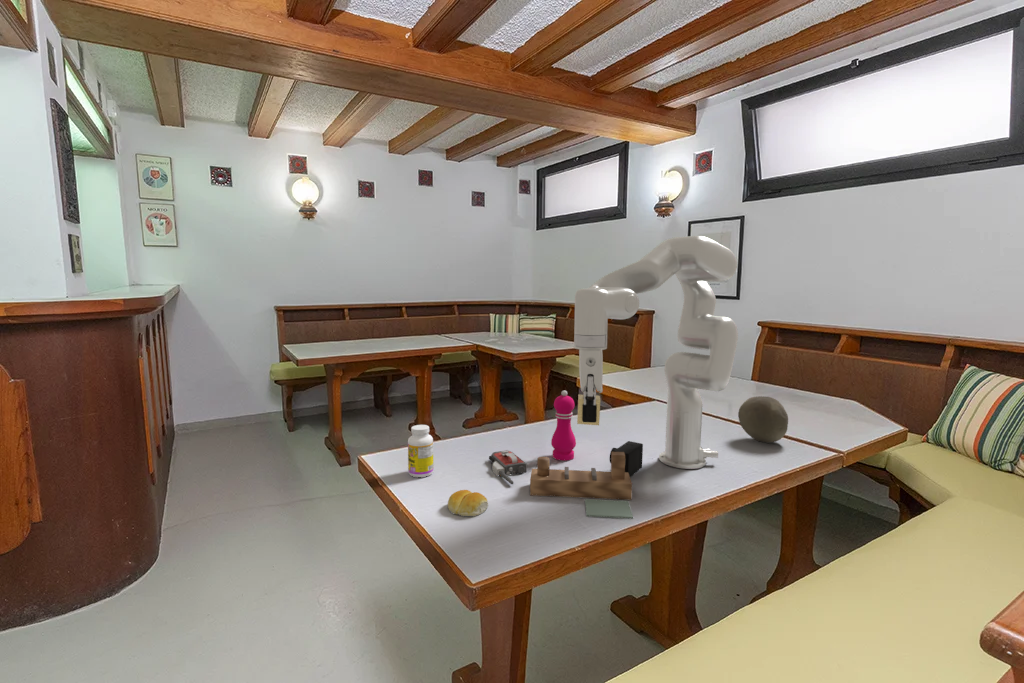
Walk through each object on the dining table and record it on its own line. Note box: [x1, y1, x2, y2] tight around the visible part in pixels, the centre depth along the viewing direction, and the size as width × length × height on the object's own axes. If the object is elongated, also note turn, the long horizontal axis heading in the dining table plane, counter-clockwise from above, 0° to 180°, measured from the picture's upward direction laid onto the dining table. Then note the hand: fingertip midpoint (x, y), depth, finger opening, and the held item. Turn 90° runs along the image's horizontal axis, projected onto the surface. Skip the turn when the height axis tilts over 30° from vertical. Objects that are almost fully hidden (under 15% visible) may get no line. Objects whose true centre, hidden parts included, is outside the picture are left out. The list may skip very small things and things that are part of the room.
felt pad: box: [584, 498, 634, 520], centre depth 111 cm, size 10×8×1 cm
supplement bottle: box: [407, 424, 434, 478], centre depth 131 cm, size 7×7×13 cm
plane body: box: [529, 451, 633, 501], centre depth 120 cm, size 24×7×10 cm, turn 84°
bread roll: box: [447, 489, 489, 517], centre depth 111 cm, size 8×9×4 cm
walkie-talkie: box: [488, 449, 527, 485], centre depth 133 cm, size 9×4×20 cm
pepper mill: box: [550, 390, 577, 461], centre depth 143 cm, size 7×7×20 cm
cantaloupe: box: [737, 395, 789, 444], centre depth 158 cm, size 14×14×15 cm
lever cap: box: [576, 393, 601, 426], centre depth 115 cm, size 5×4×7 cm
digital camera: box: [609, 440, 644, 478], centre depth 133 cm, size 10×5×7 cm, turn 145°
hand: (589, 418), depth 115 cm, fingers closed on lever cap, 4 cm apart
